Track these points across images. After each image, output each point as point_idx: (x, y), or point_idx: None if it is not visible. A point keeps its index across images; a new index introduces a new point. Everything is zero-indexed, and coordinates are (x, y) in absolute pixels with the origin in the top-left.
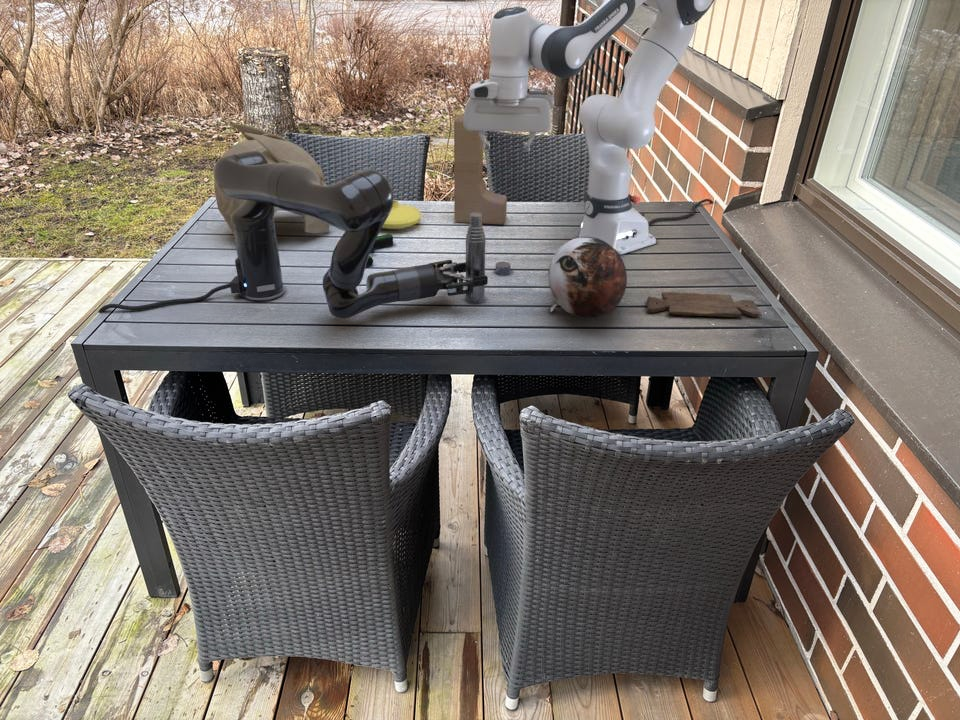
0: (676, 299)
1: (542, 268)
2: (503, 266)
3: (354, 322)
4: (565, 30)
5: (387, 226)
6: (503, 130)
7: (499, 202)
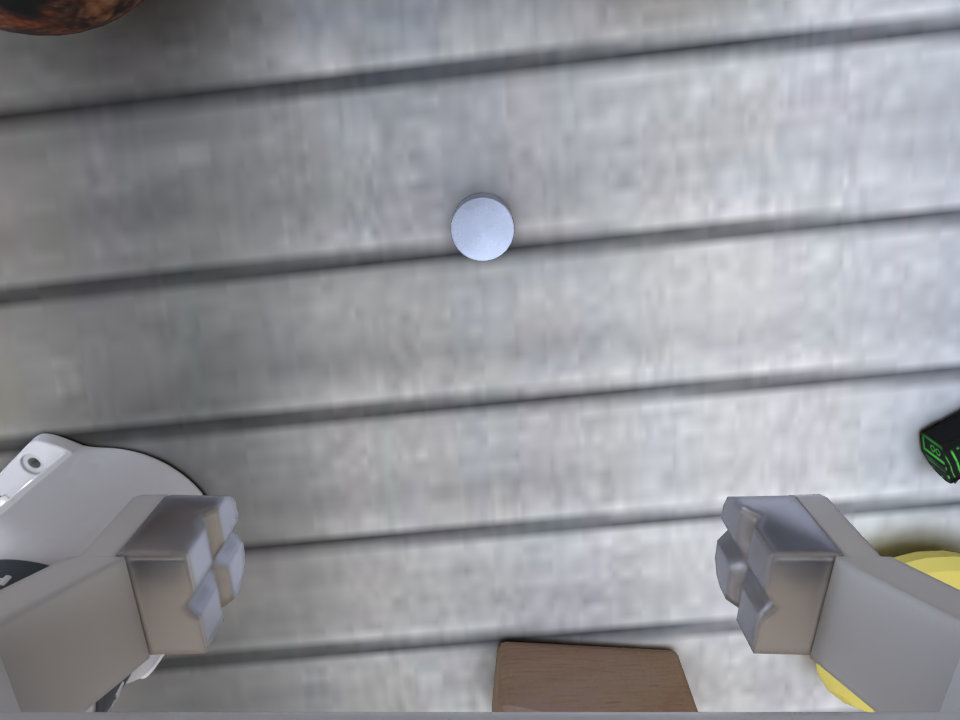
0: None
1: (326, 279)
2: (479, 208)
3: None
4: None
5: (951, 553)
6: (573, 716)
7: None
